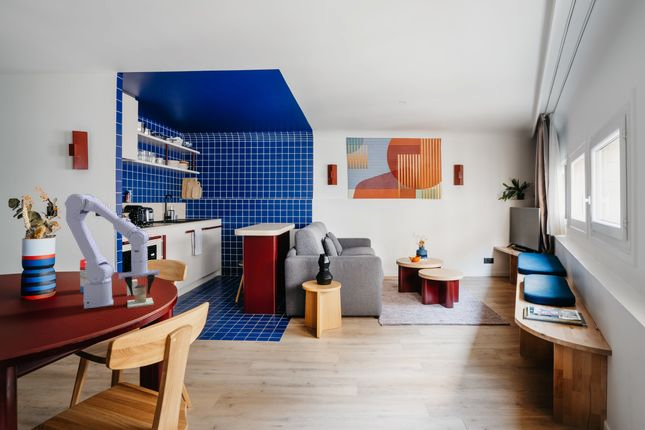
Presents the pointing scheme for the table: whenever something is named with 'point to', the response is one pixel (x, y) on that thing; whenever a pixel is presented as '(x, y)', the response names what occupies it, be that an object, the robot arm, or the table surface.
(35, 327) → the table surface
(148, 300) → the sage pad
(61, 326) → the table surface
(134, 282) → the grey block
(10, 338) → the table surface
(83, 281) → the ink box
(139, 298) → the labelled block
